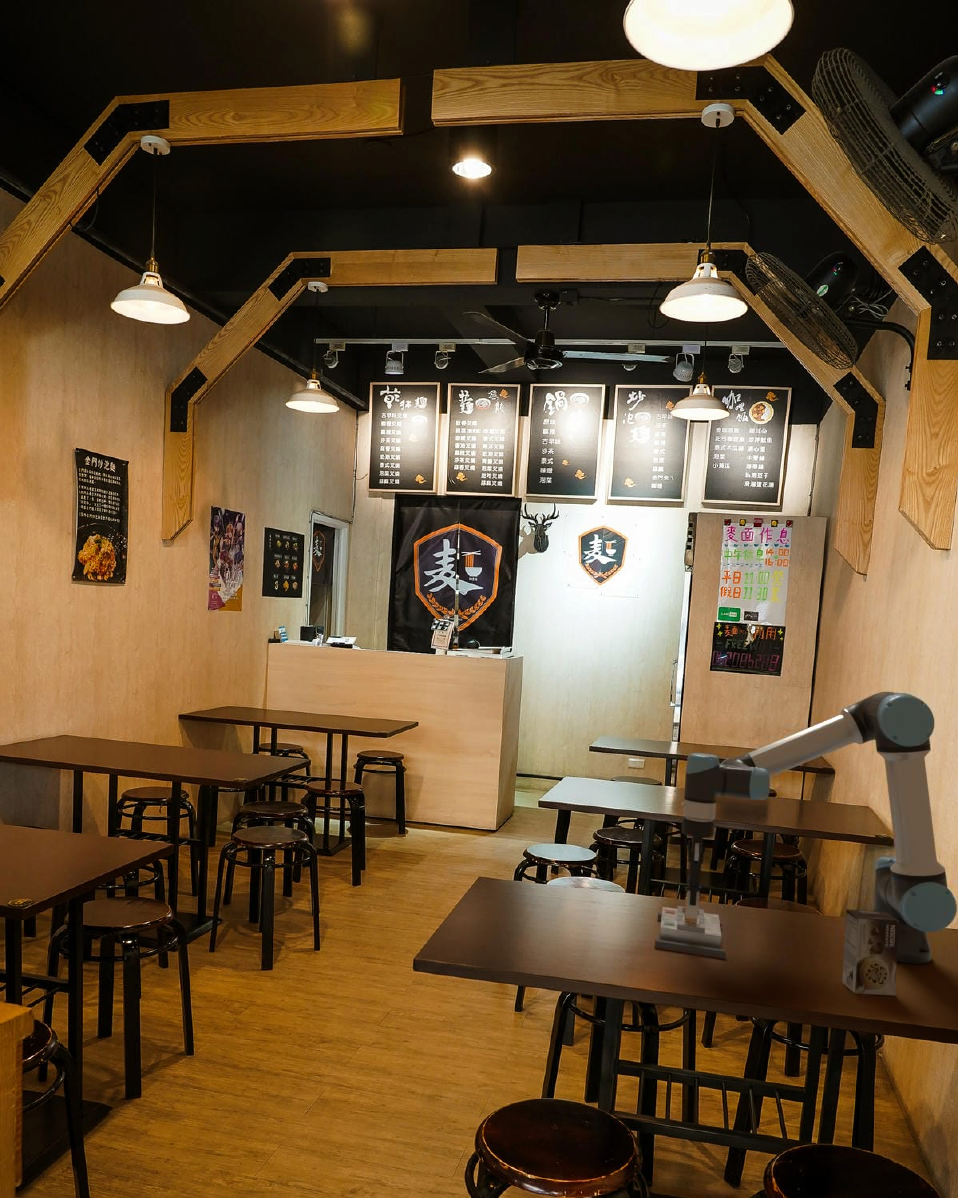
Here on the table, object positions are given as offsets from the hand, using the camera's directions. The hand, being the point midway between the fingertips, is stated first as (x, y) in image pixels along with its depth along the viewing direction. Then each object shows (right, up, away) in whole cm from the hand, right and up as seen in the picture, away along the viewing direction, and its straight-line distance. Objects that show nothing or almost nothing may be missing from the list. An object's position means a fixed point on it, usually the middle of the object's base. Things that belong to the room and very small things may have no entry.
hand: (691, 917), depth 214 cm
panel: (+1, -7, +5) cm, 9 cm away
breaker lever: (+1, -2, +5) cm, 6 cm away
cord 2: (-2, -6, -6) cm, 9 cm away
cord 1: (+3, -7, +16) cm, 18 cm away
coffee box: (+33, -8, -21) cm, 40 cm away
